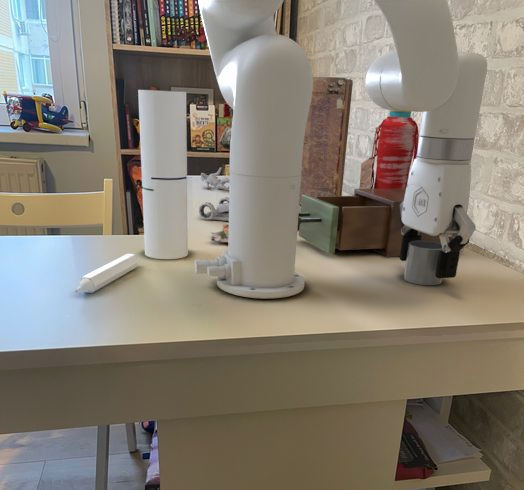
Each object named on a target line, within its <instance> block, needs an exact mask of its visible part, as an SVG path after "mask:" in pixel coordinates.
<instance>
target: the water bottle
mask: <svg viewBox="0 0 524 490" xmlns="http://www.w3.org/2000/svg"><path fill="white" fill-rule="evenodd" d="M411 115H412V111H393V110H389V115H388V116H386V118H385V119H383V120H382V121H381V123H380V124H379V125H378V126H377V127H375V128H374V129H375V132H374V136H373V144H372V150H371V156H370V157H369V158H367V159H366V160H364V161H363V162H361V163H360V172H359V173H360V175H359V188H358V189H406V188H407V183H408V179H409V175H410V171H411V167H412V163H413V162H414V159H416V157H417V149H418V142H419V136H420V131H419V126H418V123H417V122H416V121H415V120H414V119H413V117H411ZM375 161H376V169H375V168H374V167H375Z"/></svg>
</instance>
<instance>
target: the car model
mask: <svg viewBox="0 0 524 490" xmlns="http://www.w3.org/2000/svg"><path fill="white" fill-rule="evenodd" d="M206 207H207V208H208V209H209V210H210V211H207V212H206V213H205V208H206ZM299 213H301V206H299ZM198 214H199V216H200V217H201V218H202V219H203V220H205V221H212V220H213V221H224V222H225V221H226V222H229V197H227V196H225V197H222V198H221V199H220V200H219V202H218V204H217V205H216V208H215V206H214V204H213V203H211V202H208V201H207V202H203V203H202V204H200V206H199V207H198Z"/></svg>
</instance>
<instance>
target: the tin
mask: <svg viewBox="0 0 524 490" xmlns="http://www.w3.org/2000/svg"><path fill="white" fill-rule="evenodd" d="M439 251H443V248H442V245H441V243H438V242H432V241H411V242H409V245H408V252H407V258H406V261H405V265H404V270H403V271H404V272H403V279H404V280H405V281H407V282H408V283H411V284H415V285H421V286H438V285H440V284H442V281H443V278H440V279H439V278H437V277H436V276H435V274H436V268H437V262H438V256H439Z"/></svg>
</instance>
